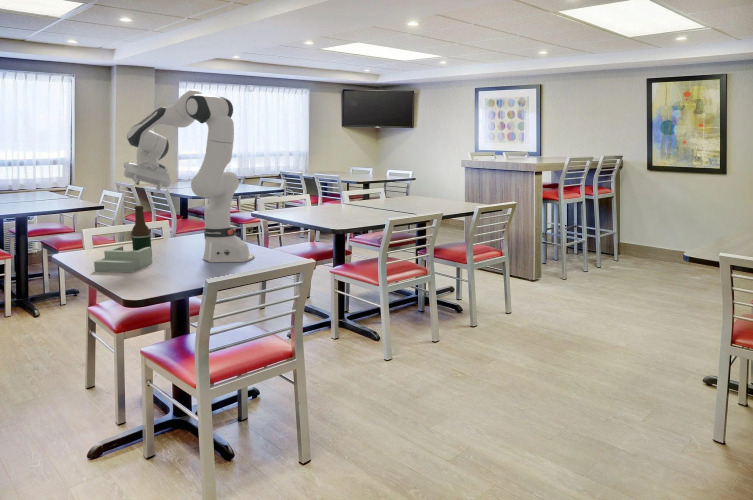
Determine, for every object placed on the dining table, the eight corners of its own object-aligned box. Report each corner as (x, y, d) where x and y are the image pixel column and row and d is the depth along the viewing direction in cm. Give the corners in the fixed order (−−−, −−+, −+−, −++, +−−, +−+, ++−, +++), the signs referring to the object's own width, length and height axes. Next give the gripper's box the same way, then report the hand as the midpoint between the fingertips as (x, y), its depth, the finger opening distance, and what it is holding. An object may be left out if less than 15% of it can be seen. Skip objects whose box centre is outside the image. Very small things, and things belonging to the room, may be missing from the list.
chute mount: (153, 262, 262) (152, 247, 261) (131, 272, 244) (130, 255, 243) (118, 261, 264) (117, 246, 263) (94, 271, 247) (93, 254, 245)
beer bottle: (129, 260, 267) (125, 206, 262) (143, 256, 274) (139, 204, 269) (142, 261, 264) (137, 207, 259) (156, 258, 270) (152, 205, 266)
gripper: (126, 156, 272) (126, 174, 262) (170, 168, 283) (172, 186, 274) (121, 166, 275) (121, 185, 266) (166, 178, 286) (167, 197, 277)
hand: (148, 186), depth 270 cm, fingers open, 8 cm apart
